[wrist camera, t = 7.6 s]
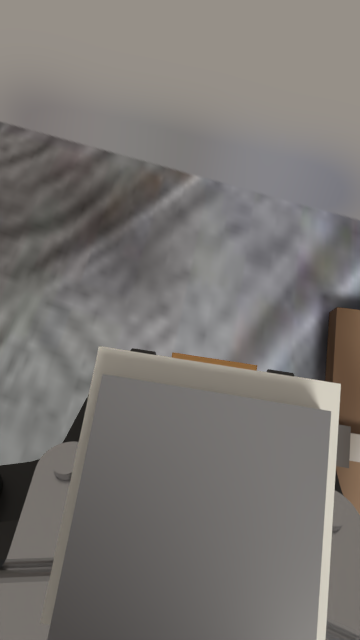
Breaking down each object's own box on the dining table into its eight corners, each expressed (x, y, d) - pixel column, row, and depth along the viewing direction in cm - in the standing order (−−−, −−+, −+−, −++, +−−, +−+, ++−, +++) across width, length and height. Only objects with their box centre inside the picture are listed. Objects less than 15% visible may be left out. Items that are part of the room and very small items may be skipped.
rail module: (148, 478, 14) (15, 688, 4) (166, 374, 15) (95, 324, 5) (234, 494, 14) (332, 769, 4) (247, 387, 15) (354, 363, 4)
